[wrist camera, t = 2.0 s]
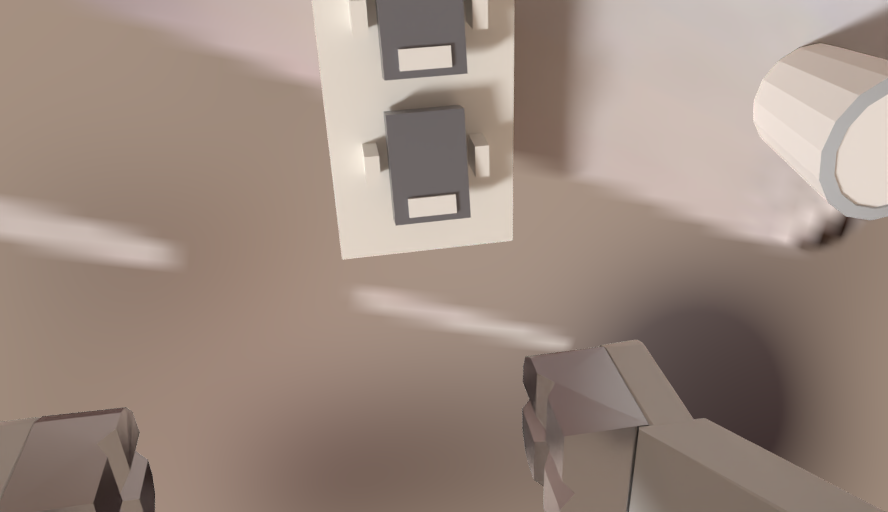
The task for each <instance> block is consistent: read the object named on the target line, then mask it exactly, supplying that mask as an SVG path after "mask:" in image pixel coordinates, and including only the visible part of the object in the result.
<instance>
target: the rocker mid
mask: <svg viewBox="0 0 888 512" xmlns="http://www.w3.org/2000/svg"><path fill="white" fill-rule="evenodd" d="M375 4H376V15H377V26H378V37H379V48H380V59H381V70H382V78H383V79H384V80H385V81H386V80H398V79H409V78H421V77H433V76H445V75H457V74H468V72H467V55H466V38H465V21H464V4H463V0H375Z"/></svg>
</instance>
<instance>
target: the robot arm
mask: <svg viewBox="0 0 888 512" xmlns="http://www.w3.org/2000/svg"><path fill="white" fill-rule="evenodd" d="M523 384H524V386H525V389H526V391H527V394H528V397H529V401H528V402H527V403H526V404H525V406H524V407H523V408H522V425H523V427H522V429H523V437H524V446H525V451H526V456H527V460H528V464H529V467H530V470H531V473H532V476H533V479H534V480H535V481H536V482H538V483H539V484H541V485H542V486H544V499H543V507H544V510H545V512H885V511H883V510H881V509H879V508H877V507H875V506H873V505H871V504H869V503H868V502H866V501H864V500H862V499H860V498H858V497H856V496H854V495H852V494H850V493H848V492H846V491H844V490H842V489H841V488H838V487H837V486H835V485H833V484H831V483H829V482H827V481H825V480H823V479H821V478H819V477H817V476H815V475H813V474H812V473H810V472H808V471H806V470H804V469H802V468H800V467H798V466H796V465H794V464H792V463H790V462H788V461H787V460H785V459H783V458H781V457H779V456H777V455H775V454H773V453H771V452H769V451H767V450H765V449H763V448H761V447H760V446H758V445H756V444H754V443H752V442H750V441H748V440H746V439H744V438H742V437H740V436H738V435H736V434H734V433H733V432H730V431H729V430H726V429H725V428H723V427H721V426H719V425H717V424H715V423H713V422H711V421H709V420H707V419H705V418H702V419H695V420H694V419H693V418H692V416H691V415H690V413H689V412H688V410H687V409H686V407H685V406H684V404H683V403H682V401H681V400H680V398H679V397H678V395H677V394H676V392H675V391H674V389H673V388H672V386H671V385H670V383H669V381H668V380H667V379H666V377H665V375H664V374H663V372H662V371H661V369H660V368H659V366H658V365H657V363H656V362H655V360H654V359H653V357H652V356H651V355H650V353H649V351H648V350H647V348H646V347H645V345H644V344H643V343H642V342H640V341H638V340H631V341H624V342H618V343H611V344H605V345H600V346H599V347H592V348H585V349H577V350H570V351H562V352H555V353H547V354H540V355H533V356H526V357H525V360H524V365H523ZM139 433H140V432H139V429H138V427H137V424H136V421H135V418H134V415H133V412H132V411H131V410H129V409H128V408H126V407H125V408H115V409H106V410H97V411H87V412H78V413H69V414H59V415H50V416H42V417H41V418H36V417H35V418H27V419H18V420H10V421H1V422H0V512H155V490H154V483H153V476H152V472H151V469H150V465H149V462H148V460H147V459H146V458H145V457H143V456H142V455H140V454H139V453H137V452H136V451H135V450H136V445H137V441H138V437H139Z"/></svg>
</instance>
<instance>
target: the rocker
mask: <svg viewBox="0 0 888 512" xmlns="http://www.w3.org/2000/svg"><path fill="white" fill-rule="evenodd" d="M383 113H384V124H385V135H386V146H387V157H388V167H389V178H390V189H391V200H392V210H393V219H394V222H395V225H396V226H397V225H406V224H415V223H425V222H434V221H443V220H453V219H462V218H471V212H470V195H469V179H468V162H467V146H466V130H465V113H464V108H463V107H462V106H460V105H451V106H440V107H428V108H417V109H406V110H395V111H384V112H383Z"/></svg>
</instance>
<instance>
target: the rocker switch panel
mask: <svg viewBox="0 0 888 512" xmlns="http://www.w3.org/2000/svg"><path fill="white" fill-rule="evenodd" d="M463 4H464V21H465V38H466V55H467V72H468V74H457V75H445V76H433V77H421V78H409V79H398V80H386V81H385V80H384V79H383V78H382V70H381V59H380V48H379V37H378V26H377V15H376V4H375V0H312V9H313V17H314V26H315V34H316V43H317V51H318V60H319V68H320V77H321V85H322V93H323V102H324V110H325V119H326V127H327V135H328V144H329V153H330V161H331V169H332V178H333V186H334V195H335V204H336V211H337V220H338V229H339V237H340V246H341V254H342V259H351V258H361V257H369V256H378V255H387V254H396V253H405V252H414V251H423V250H432V249H441V248H450V247H459V246H468V245H477V244H486V243H495V242H504V241H512V240H513V135H514V0H463ZM451 105H460V106H462V107H463V108H464V113H465V130H466V146H467V162H468V179H469V195H470V212H471V218H462V219H453V220H443V221H434V222H425V223H415V224H406V225H397V226H396V225H395V222H394V219H393V210H392V200H391V189H390V178H389V167H388V157H387V146H386V135H385V124H384V113H383V112H384V111H395V110H406V109H417V108H428V107H440V106H451Z"/></svg>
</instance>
